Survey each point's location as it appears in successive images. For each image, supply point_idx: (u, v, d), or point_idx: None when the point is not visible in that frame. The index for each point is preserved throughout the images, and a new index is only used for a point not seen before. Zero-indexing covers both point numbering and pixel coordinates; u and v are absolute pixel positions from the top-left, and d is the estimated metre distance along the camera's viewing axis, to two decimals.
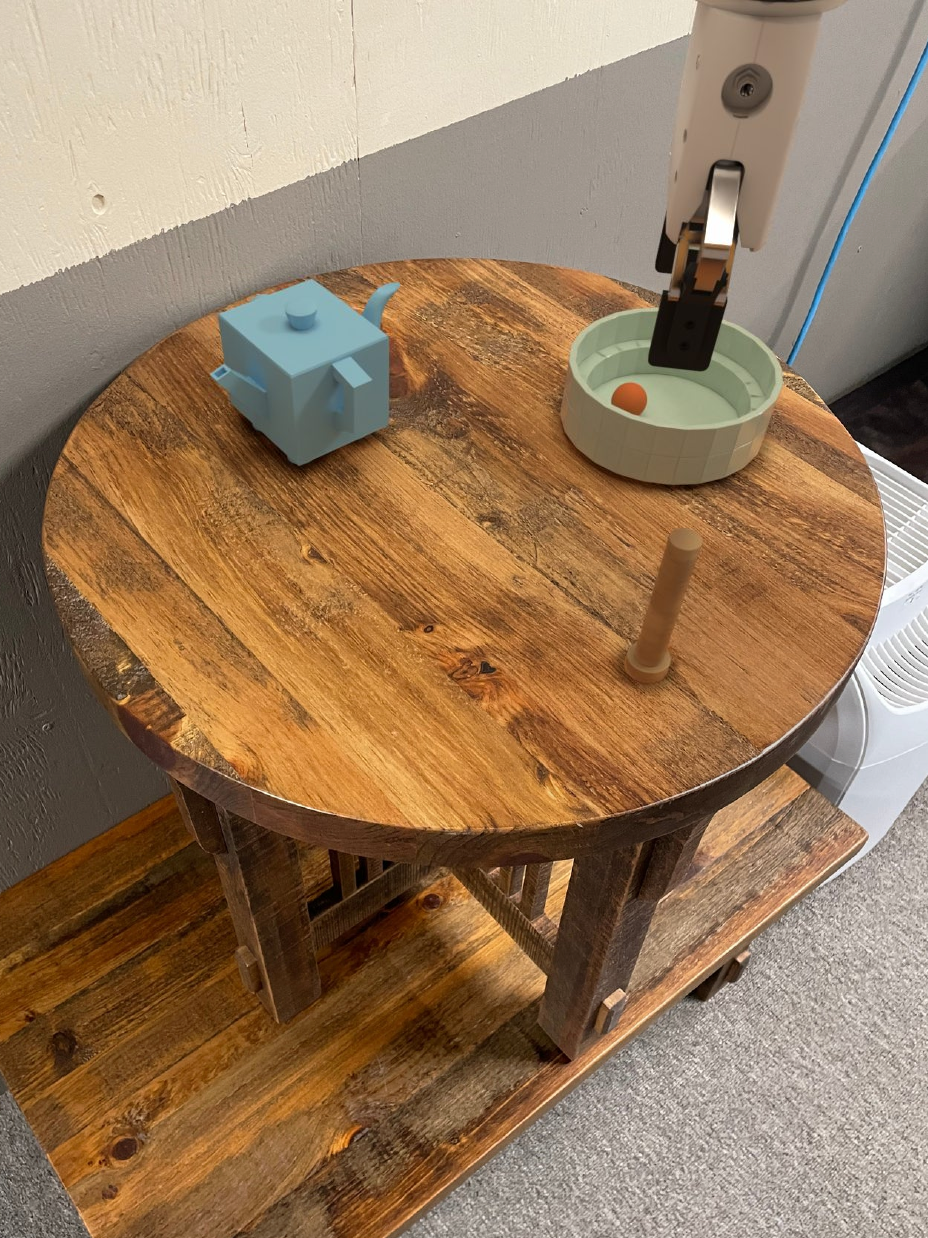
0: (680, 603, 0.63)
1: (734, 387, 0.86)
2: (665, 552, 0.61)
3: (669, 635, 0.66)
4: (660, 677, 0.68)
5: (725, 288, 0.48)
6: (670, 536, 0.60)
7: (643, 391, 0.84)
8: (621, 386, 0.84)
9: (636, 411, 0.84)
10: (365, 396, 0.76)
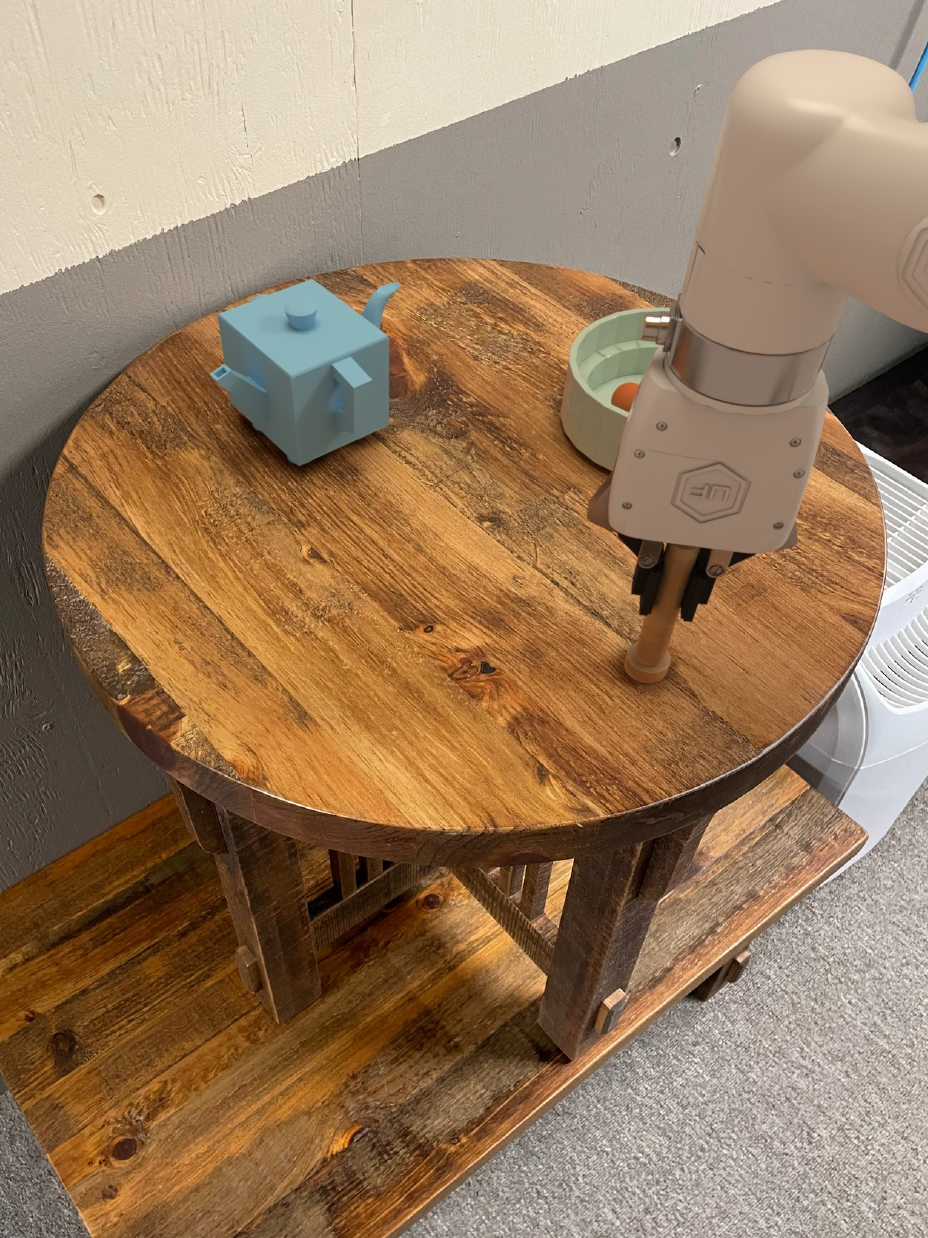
0: (680, 603, 0.63)
1: None
2: (665, 552, 0.61)
3: (669, 635, 0.66)
4: (660, 677, 0.68)
5: (638, 556, 0.60)
6: None
7: None
8: (621, 386, 0.84)
9: None
10: (365, 396, 0.76)
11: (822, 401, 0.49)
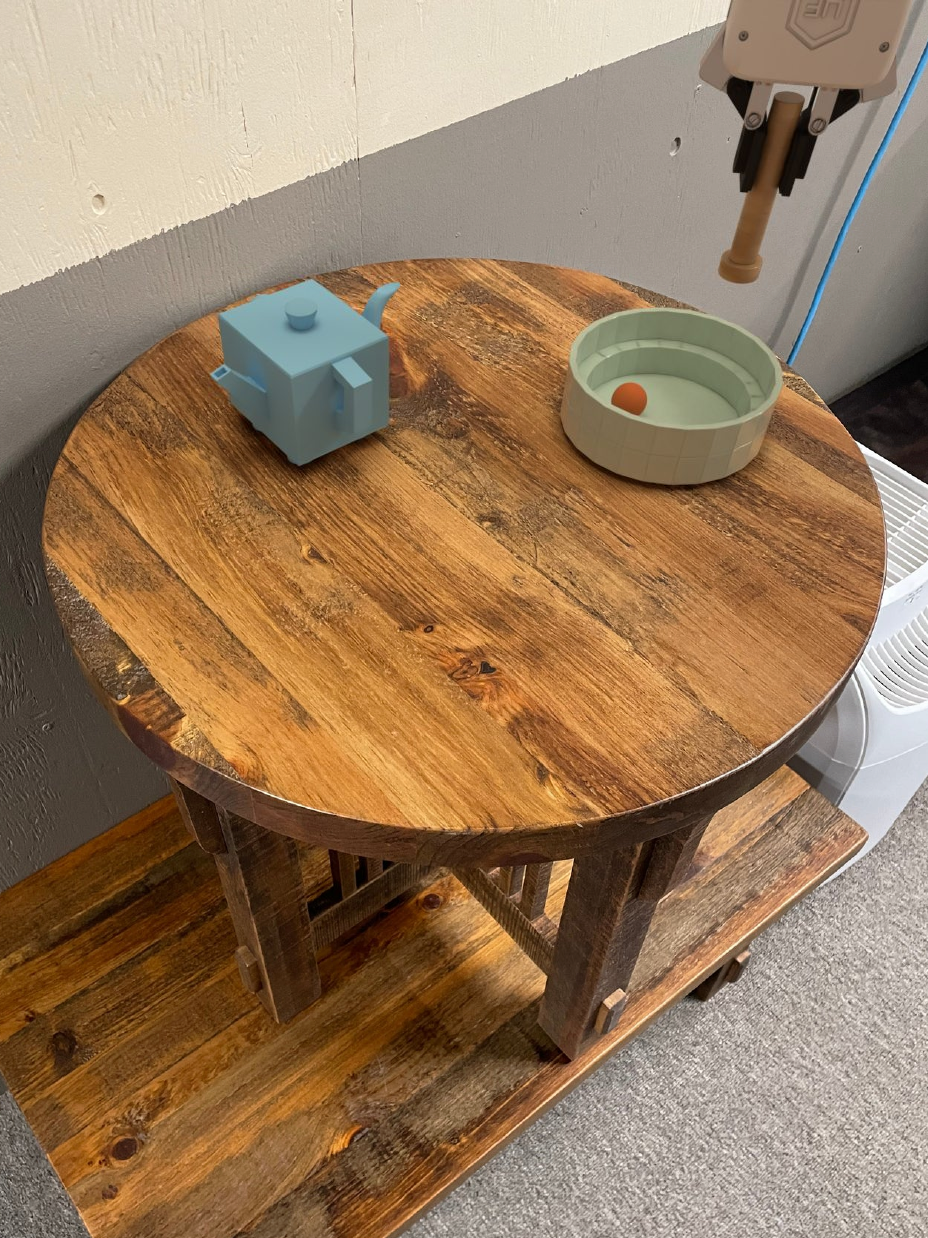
0: (779, 179, 0.68)
1: (734, 387, 0.86)
2: (769, 115, 0.66)
3: (765, 222, 0.71)
4: (753, 277, 0.73)
5: (744, 116, 0.65)
6: (775, 95, 0.65)
7: (643, 391, 0.84)
8: (621, 386, 0.84)
9: (636, 411, 0.84)
10: (365, 396, 0.76)
11: None
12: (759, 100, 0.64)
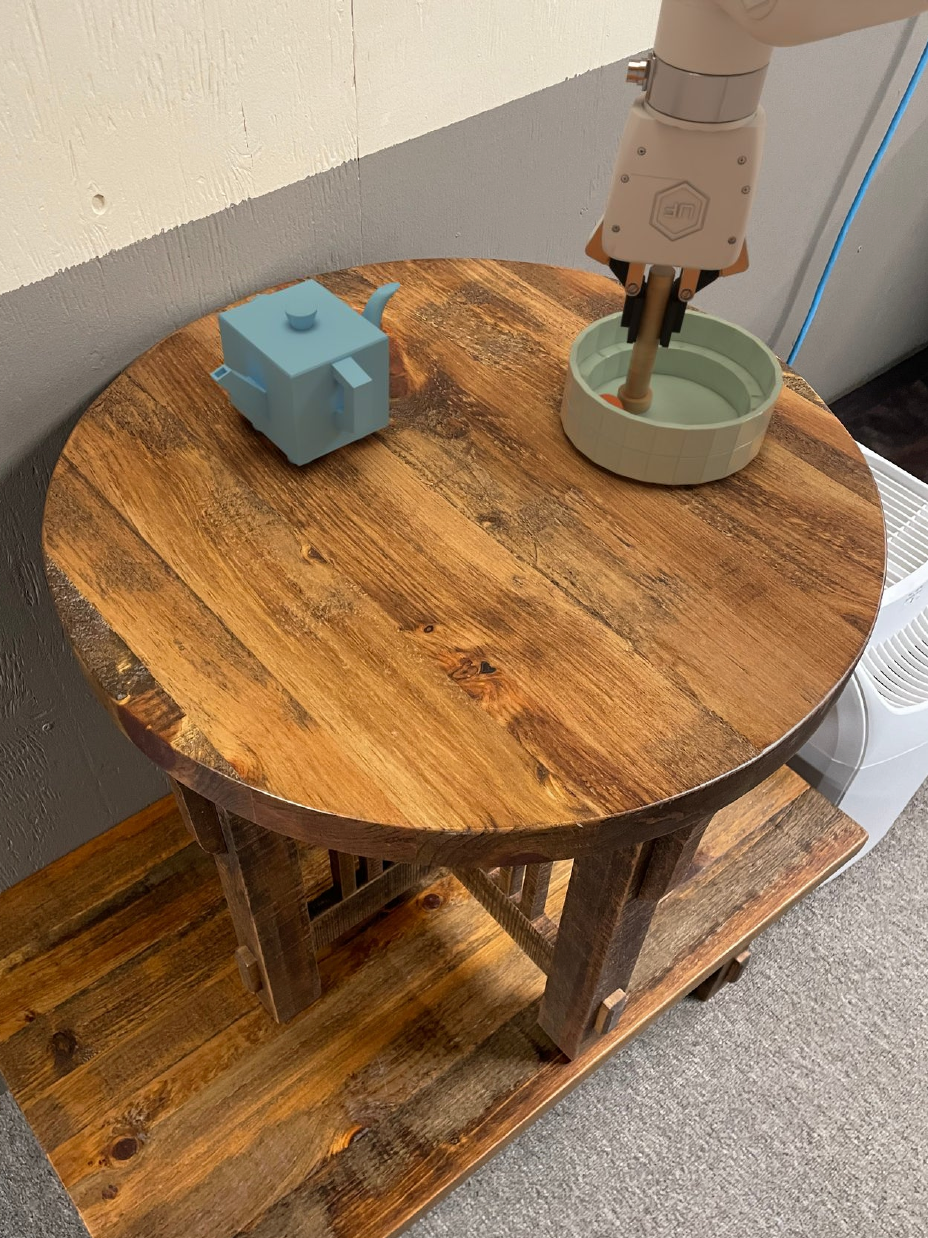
0: (659, 332, 0.80)
1: (734, 387, 0.86)
2: (647, 283, 0.77)
3: (651, 366, 0.82)
4: (644, 408, 0.85)
5: (625, 285, 0.77)
6: (650, 268, 0.77)
7: None
8: None
9: None
10: (365, 396, 0.76)
11: (761, 124, 0.66)
12: (636, 274, 0.76)
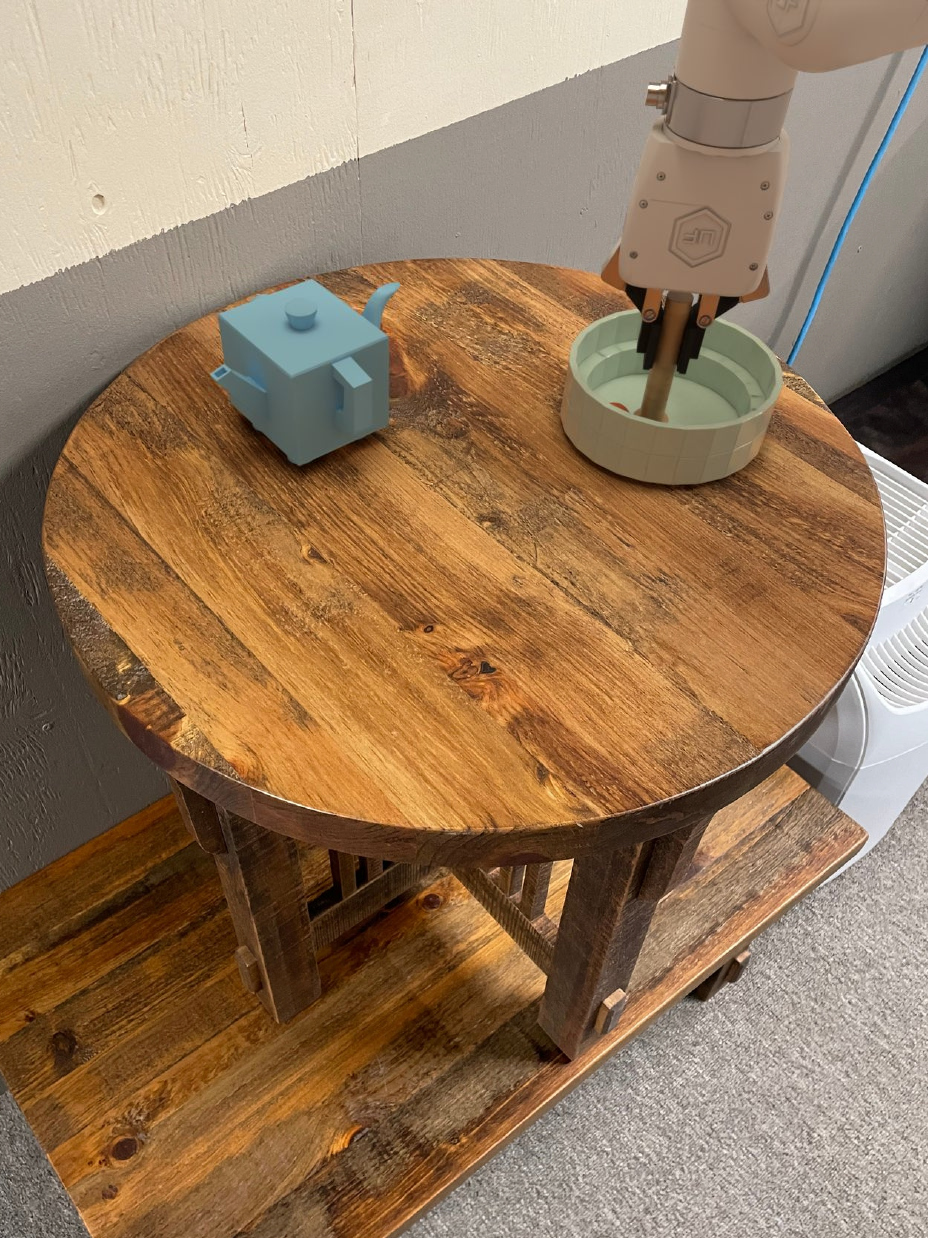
0: (676, 358, 0.78)
1: (734, 387, 0.86)
2: (664, 309, 0.75)
3: (667, 392, 0.80)
4: None
5: (642, 311, 0.75)
6: (668, 294, 0.75)
7: None
8: None
9: None
10: (365, 396, 0.76)
11: (785, 149, 0.64)
12: (653, 300, 0.74)
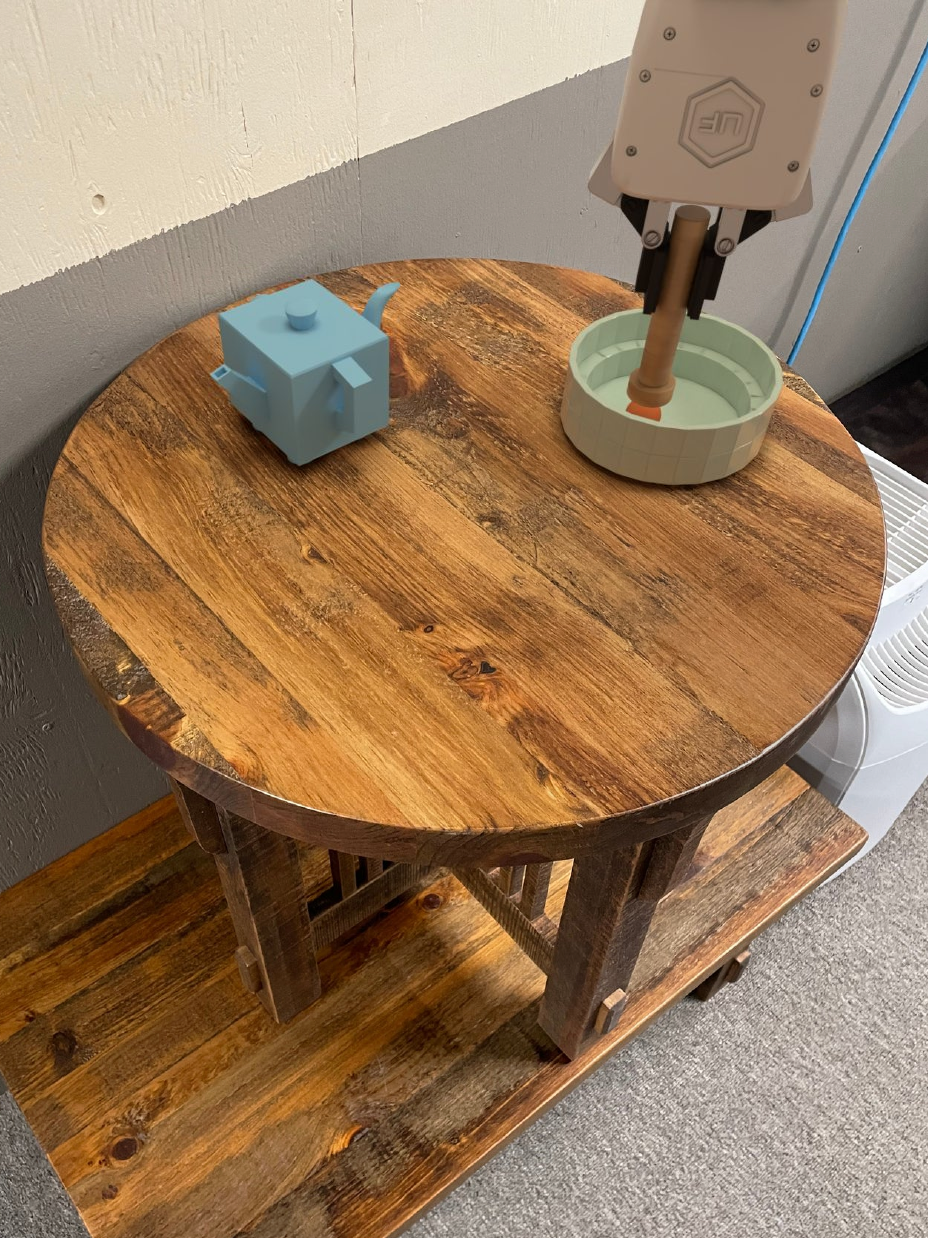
0: (686, 299, 0.60)
1: (734, 387, 0.86)
2: (671, 232, 0.57)
3: (674, 344, 0.62)
4: (664, 400, 0.65)
5: (642, 234, 0.57)
6: (676, 210, 0.57)
7: None
8: None
9: None
10: (365, 396, 0.76)
11: None
12: (657, 218, 0.56)
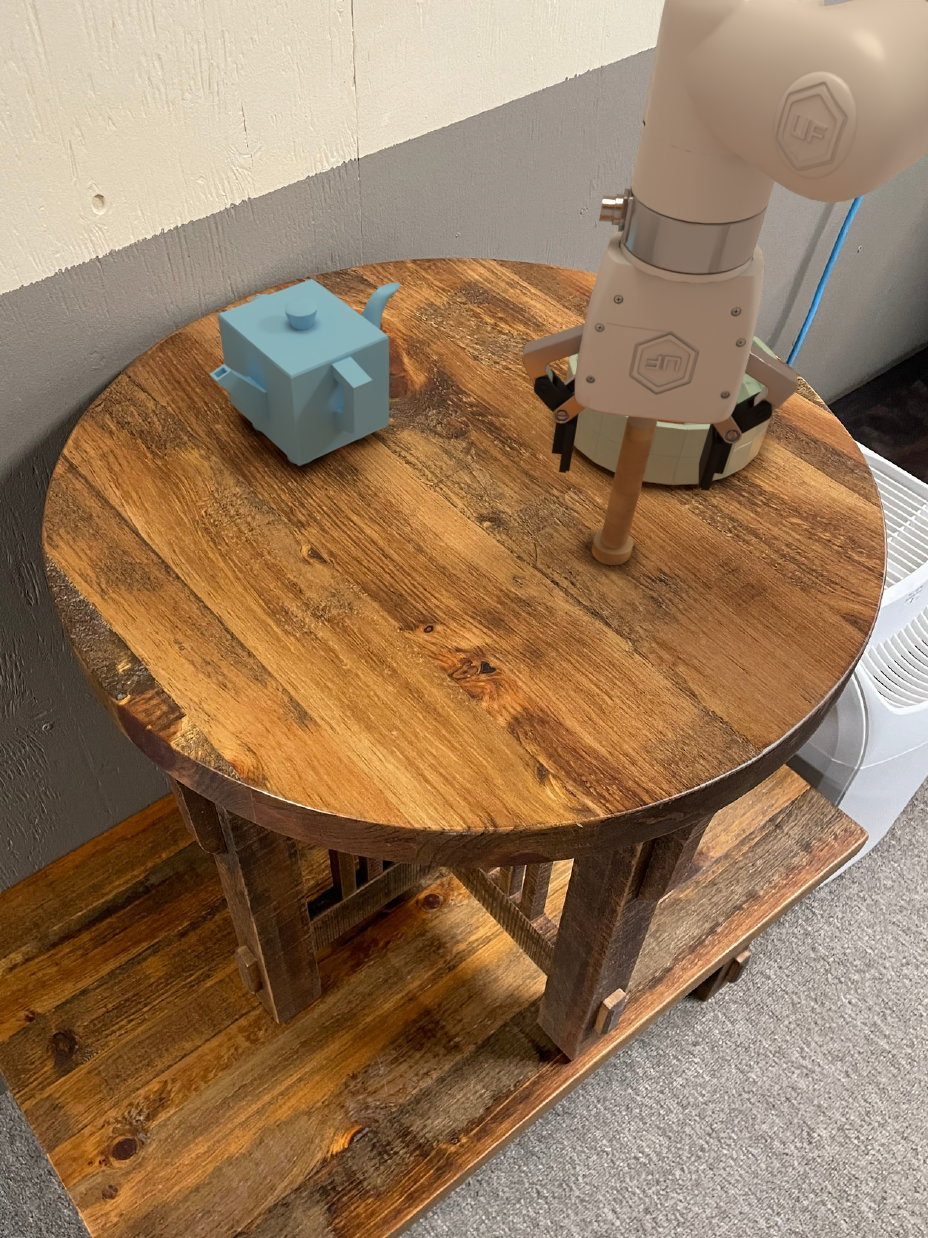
0: (639, 484, 0.71)
1: None
2: (624, 434, 0.68)
3: (630, 517, 0.73)
4: (623, 560, 0.76)
5: (557, 407, 0.66)
6: (628, 418, 0.67)
7: None
8: None
9: None
10: (365, 396, 0.76)
11: (758, 272, 0.56)
12: (564, 400, 0.65)
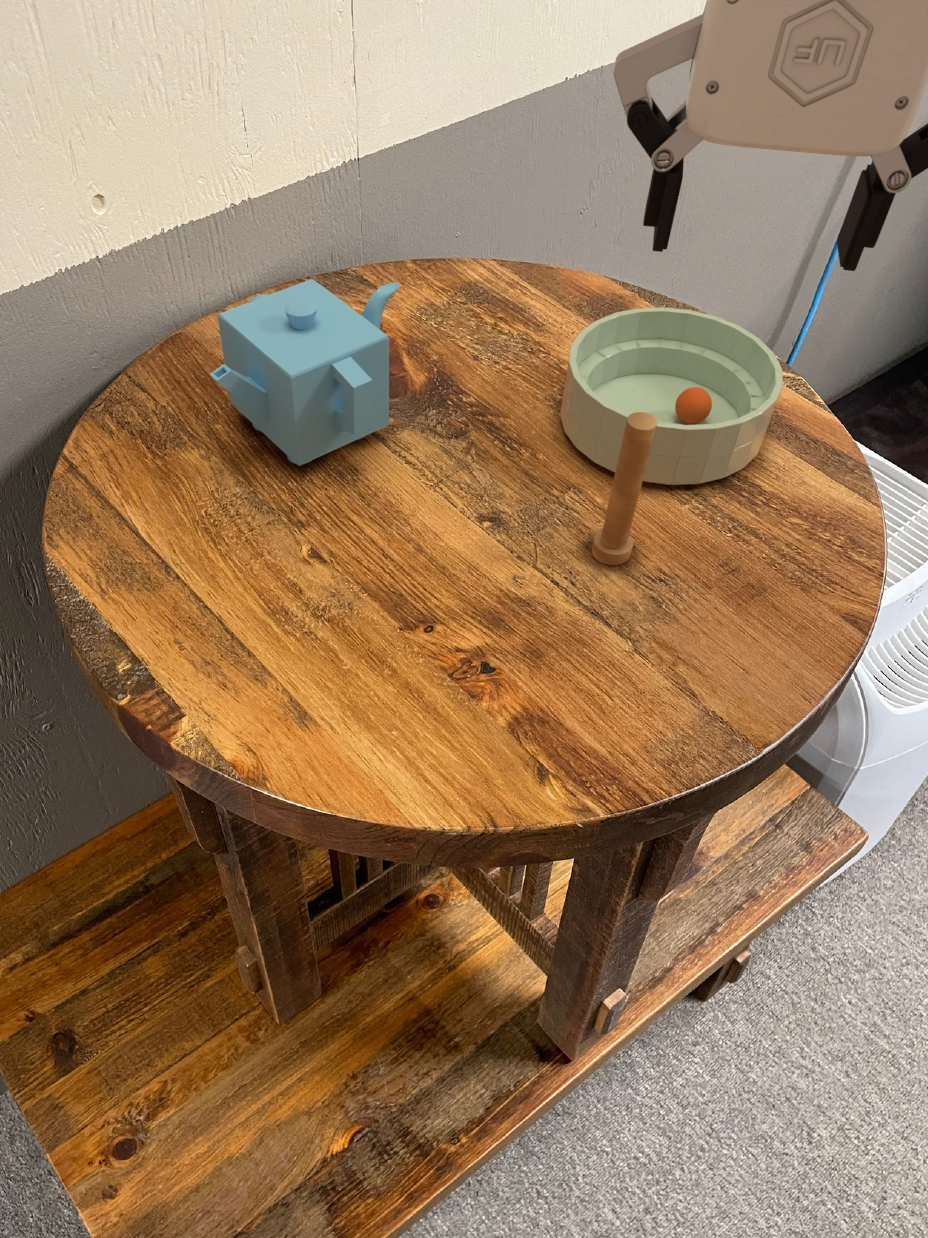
0: (639, 484, 0.71)
1: (734, 387, 0.86)
2: (624, 434, 0.68)
3: (630, 517, 0.73)
4: (623, 560, 0.76)
5: (658, 147, 0.49)
6: (628, 418, 0.67)
7: None
8: None
9: (703, 418, 0.84)
10: (365, 396, 0.76)
11: None
12: (669, 134, 0.48)
